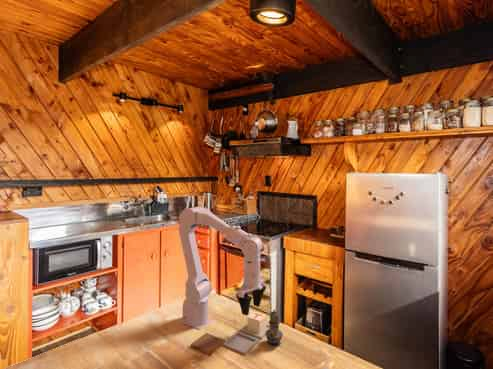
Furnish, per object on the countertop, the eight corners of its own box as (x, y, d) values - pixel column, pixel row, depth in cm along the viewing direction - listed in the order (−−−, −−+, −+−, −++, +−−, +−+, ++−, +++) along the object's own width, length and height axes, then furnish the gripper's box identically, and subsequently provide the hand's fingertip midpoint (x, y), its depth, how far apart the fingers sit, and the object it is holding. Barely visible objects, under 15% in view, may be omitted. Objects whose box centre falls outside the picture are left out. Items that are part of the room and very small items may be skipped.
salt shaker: (281, 350, 96) (282, 314, 96) (263, 347, 98) (264, 312, 97) (283, 339, 102) (284, 306, 101) (266, 337, 103) (267, 304, 103)
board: (190, 346, 97) (190, 344, 97) (206, 335, 104) (206, 332, 104) (209, 355, 93) (209, 352, 93) (224, 343, 100) (224, 340, 100)
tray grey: (222, 346, 98) (222, 343, 98) (237, 333, 105) (237, 331, 105) (245, 356, 93) (245, 353, 93) (259, 342, 101) (259, 339, 101)
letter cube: (247, 330, 107) (247, 316, 107) (254, 324, 111) (254, 311, 111) (259, 334, 105) (259, 320, 104) (266, 328, 109) (266, 314, 109)
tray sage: (239, 331, 107) (239, 329, 107) (252, 321, 114) (252, 318, 114) (261, 339, 102) (261, 337, 102) (273, 328, 109) (273, 325, 109)
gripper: (250, 281, 95) (249, 322, 95) (271, 268, 107) (270, 305, 108) (232, 276, 98) (231, 315, 99) (255, 264, 111) (254, 300, 111)
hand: (251, 310), depth 104 cm, fingers open, 7 cm apart
